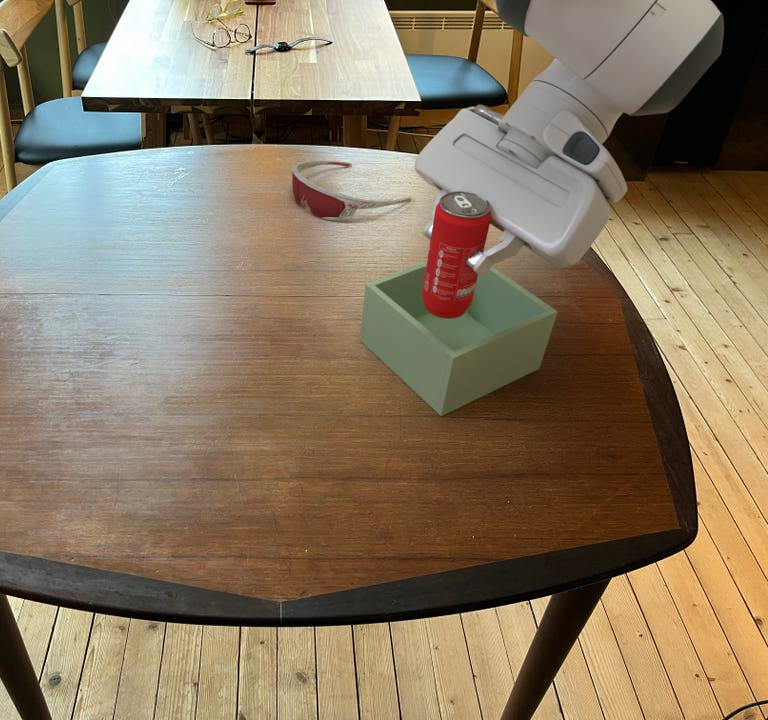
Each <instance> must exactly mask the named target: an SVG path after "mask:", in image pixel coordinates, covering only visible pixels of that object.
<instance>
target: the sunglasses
mask: <svg viewBox="0 0 768 720" xmlns="http://www.w3.org/2000/svg"><path fill="white" fill-rule="evenodd" d="M329 165H330V166H339V167H346V168H350V167H352V166H353V163H352V162H347V161H341V160H307V161H301V162H298V163H296V164H294V165H293V167H292V171H291V191H292V198H293V201H295V202H296V204H297V205H302V204H303V202H305V201H306V203H307V206H308V208H309V210H310V212H311V213H312V215H313V216H315V217H318V218H321V219H323V220H329V221H344V220H347V219H348V218H349V217H353V216H354V215H355V213H356V212H357V211H358V210H371V209H379V208H383V207H384V208H385V207H389V206H393V205H399V204H405V203H410V201H411V200H412V199H413V197H412V196H407V197H403V198H398V199H391V200H373V199H372V200H371V199H370V200H369V199H361V198H356V197H352V196H349V195H345V194H341V193H338V192H335V191H331V190H329V189H327V188H324V187H321V186H319V185H317V184H316V183H315V184H314V183H313V182H312V181H310V180H309V179H307V178H306V177H304V176H303V175H302V174H301V172H303V171H305V170H307V169H311V168H314V167H318V166H320V167H321V166H329Z"/></svg>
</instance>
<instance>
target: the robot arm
mask: <svg viewBox="0 0 768 720" xmlns="http://www.w3.org/2000/svg"><path fill="white" fill-rule="evenodd" d="M495 7H496V11H497V16H498V19H499V20H501V21H502V22H503V23H505V24H506V25H508V26H510V27H511V28H512V29H514V30H516V31H517V32H519V33H520V34H521V35H523V36H524V37H526V38H530V39H531V40H532V41H533V42H535V43H536V44H537V45H539V46H540V47H541V48H542V49H544V50H545V51H546V52H547V53H548V54H550V55H551V56H552V57H553V59H552V62H551V63H550V64H549V65H548V66H547V67H546V68H545V70H543V71H541V72H540V73H539V74H537V76H536V75H535V77H534V78H533V79H532V80H531V81H530V83H529V84H528V85H527V86H526V87H525V89H524V90H523V91H522V93H521V94H520V95H519V96H518V97H517V99H516V100H515V101H514V103H513V104H512V105H511V106H510V108H509V109H508V110H507V112H505V114H501V113H499V112H496V111H494V110H492V109H490V107H488V106H486V105H483V104H477V105H476V106H468V107H466V108H462V109H460V110H459V111H458V112H457V113H456V115H455V116H454V117H453V119H451V120H450V121H449V122H448V123H446V125H444V127H442V129H440V131H438V132H437V134H436V135H435V136H433V138H432V139H430V141H429V142H428V143H427V144H426V145H425V147H423V149H422V150H421V151H420V152H419V153H418V154H417V156H416V158H415V163H414V171H415V172H416V173H417V174H418V175H419V176H420V178H421V179H422V180H424V182H426V183H427V184H428V185H430V186H431V187H432V188H434V189H436V190H437V191H439V193H438V194H437V196H436V197H435V199H434V203H433V207H432V212H431V218H430V220H429V221H428V222H427V223H426V225H425V226H424V227H423V229H422V231H421V233H422V235H423V236H424V237H425V238H427V239H428V240H430V239H431V233H432V227H433V221H434V215H435V209H436V206H437V204H438V203H439V201H440V198H441V197H442V196H443V195H445V194H447V193H450V192H456V191H465V192H471V193H475V194H478V195H480V196H478V197H480V198H482V199H483V200H484V201H485V202H486V200H488V202H489V203H490V206H491V208H490V213H491V220H490V225H491V226H493V227H494V228H496V229H498V230H499V231H500V232H501V233H500V235H498V237H497V240H498V242H500V243H497V244H496V245H494V246H492V247H490V248H489V249H488V248H487V249H486V250H484V251H483V252H481V251H480V250H478V249H477V250H476V251H475V252H474V253H473V254H472V257H470V258H469V259H468V260H467V262H466V265H467V266H468V267H469V268H470V269H471V270H473V271H474V272H475V273H477V274H478V275H479V276H484V275H485V274H486V273H487V272H488V270H489V269H490V268H491V267H494V265H495V264H499V263H501V262H503V261H505V260H507V259H510V258H512V257H514V256H516V255H517V254H518V253H519V252H520V251H521V250H522V248H523V247H526V248H527V249H528V250H530V251H532V252H533V253H535V254H536V255H537V256H539V257H541V258H542V259H544V260H545V261H547V262H548V263H550V264H552V265H553V266H555V267H556V268H558V269H565V268H568V267H572V266H574V265H576V264H577V263H578V262H579V261H580V260H581V259H582V257H584V256H585V254H586V253H587V252H588V251H589V249H590V248H591V247H592V245H593V244H594V243H595V241H596V240H597V238H598V237H599V236H600V235H601V233H602V231H603V230H604V228H605V226H606V225H607V224H608V221H609V219H610V216H611V207H610V204H612V205H613V204H616V203H618V202H619V201H620V200H621V199H623V198H624V196H625V195H626V194H627V191H628V185H627V181H626V180H625V177H624V175H623V172H622V171H621V169H620V167H619V166H618V164H617V162H616V160H615V159H614V157H613V156H612V155H611V153H610V151H608V149H607V148H606V147H605V146H604V145H603V144H604V143H605V142H606V140H607V139H608V138H609V136H610V135H611V133H612V131H613V129H614V126H615V124H616V122H617V121H618V120H619V118H620V117H621V116H622V114H627V115H628V116H629V117H639V116H650V115H659V114H666V113H669V112H671V111H672V110H674V109H675V108H676V107H677V106H678V105H680V103H681V102H682V101H683V100H684V98H686V96H687V95H688V94H689V92H690V91H691V90H692V89H693V88H694V87H695V85H696V84H697V83H698V82H699V80H700V79H701V78H702V77H703V75H704V74H705V73H706V72H707V71H708V70H709V69H710V67H711V66H712V65H714V63H715V62H716V61H717V59H718V58H719V57H720V56H721V55H722V50H723V45H724V44H723V43H724V33H725V21H724V16H723V15H724V14H723V12H721V11H720V10H719V9H718V7H717V6H716V4H715V3H714V2H713V1H712V0H495ZM486 204H487V202H486Z"/></svg>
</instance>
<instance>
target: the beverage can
mask: <svg viewBox="0 0 768 720" xmlns="http://www.w3.org/2000/svg"><path fill="white" fill-rule="evenodd" d="M478 196H480V195H478V194H475V193H471V192H465V191H456V192H450V193H447V194H445V195H443V196H442V197H441V198H440V201H439V203H438V204H437V206H436V209H435V215H434V221H433V227H432V233H431V239H429V240H430V241H429V246H428V253H427V258H426V261H427V263H426V269H425V275H424V281H423V287H422V294H421V295H422V299H423V302H424V307H425V309H426V310H427V311H428V312H429V313H430V314H432V315H434V316H436V317H439V318H444V319H453V318H458V317H460V316H462V315H463V314H464V313H465V312H466V310H467V309H468V308H469V307H470V305H471V304H472V300H473V296H474V291H475V287H476V282H477V278H478V274H477V273H475V272H474V271H473V270H471V269H470V268H469V267H468V266H467V265H466V262H467V260H468V259H469V258H470V257H472V254H473V253H474V252H475V251H476V250H477V249H478V250H480V251H481V252H484V251H485V248H486V247H485V246H486V242H487V238H488V233H489V229H490V225H491V224H490V220H491V213H490V208H491V206H490V203H489V202H488V200H486V202H487V204H486V202H485V201H484V200H483V199H482V198H480V197H478Z"/></svg>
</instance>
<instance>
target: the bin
mask: <svg viewBox="0 0 768 720" xmlns="http://www.w3.org/2000/svg"><path fill="white" fill-rule="evenodd" d="M426 263H427V260H426V261H423V262H420V263H418V264H415V265H413V266H409V267H407V268H404V269H402V270H399V271H396V272H394V273H391V274H388V275H386V276H383V277H380V278H378V279H375V280H371V281H369V282H367V283H365V285H364V294H363V306H362V313H361V314H362V316H361V324H360V325H361V327H360V337H359V341H360V342H361V343H362V345H364V346H365V347H366V348H367V349H368V350H369V351H371V353H373V355H375V356H376V357H377V358H378V359H379V361H381V362H382V363H383V364H384V365H385V366H386V367H387V368H389V370H391V372H393V373H394V374H395V375H396V376H397V377H398V378H399V379H400V380H401V381H403V383H405V384H406V385H407V386H408V387H409V388H410V389H411V390H412V391H413V392H414V393H415V394H416V395H417V396H419V398H421V399H422V400H423V401H424V402H425V403H426V404H427V405H428V406H429V407H430V408H431V409H432V410H433V411H434V412H436V413H437V415H439V416H440V417H443V416H446V415H447V414H449V413H452V412H453V411H455V410H457V409H460V408H461V407H463V406H466V405H468V404H470V403H472V402H474V401H476V400H478V399H480V398H482V397H484V396H487V395H489V394H490V393H492V392H495V391H496V390H499V389H501V388H503V387H504V386H507V385H509V384H511V383H514V382H515V381H518V380H520V379H521V378H523V377H525V376H528V375H529V374H533V372H536V371H537V370H540V369H541V365H542V362H543V360H544V355H545V352H546V349H547V346H548V343H549V341H550V337H551V334H552V330H553V327H554V325H555V322H556V318H557V315H558V310H556V309H555V308H554V307H552V306H550V305H549V304H548V303H546V302H545V301H543V300H542V299H541V298H539V297H537V296H536V295H534V294H533V293H531V292H530V291H529V290H527V289H526V288H524V287H523V286H522V285H520V284H518V283H517V282H516V281H514V280H513V279H511V278H510V277H508V276H507V275H505V274H504V273H503V272H501V271H500V270H498V269H497V268H495V267H494V266H492V267H491V268H490V269H489V270H488V272H487V273H486V274H485V275H484V276H479V275H478V278H477V282H476V287H475V291H474V296H473V300H472V304H471V305H470V307H469V308H468V309H467V310H466V312H465V313H464V314H463V315H462V316H460V317H458V318H453V319H444V318H439V317H436V316H434V315H432V314H430V313H429V312H428V311H427V310H426V309H425V307H424V302H423V299H422V295H421V294H422V287H423V281H424V275H425V269H426Z"/></svg>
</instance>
